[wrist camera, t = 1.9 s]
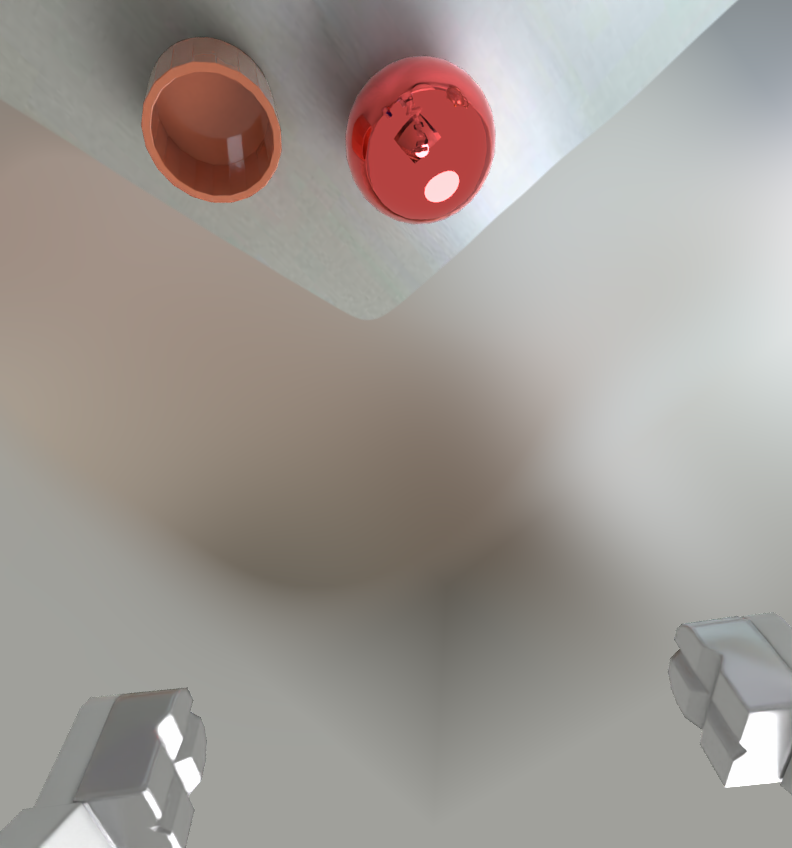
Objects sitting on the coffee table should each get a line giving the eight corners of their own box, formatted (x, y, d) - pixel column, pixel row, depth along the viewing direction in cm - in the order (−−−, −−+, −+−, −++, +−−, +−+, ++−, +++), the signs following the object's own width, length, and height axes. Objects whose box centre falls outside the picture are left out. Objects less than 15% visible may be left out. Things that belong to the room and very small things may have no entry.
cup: (127, 119, 44) (118, 152, 39) (185, 3, 39) (182, 26, 35) (236, 190, 49) (239, 225, 45) (297, 96, 45) (306, 125, 41)
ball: (401, 211, 54) (433, 277, 46) (306, 125, 47) (325, 187, 39) (494, 111, 49) (548, 166, 42) (405, -2, 42) (450, 39, 34)
